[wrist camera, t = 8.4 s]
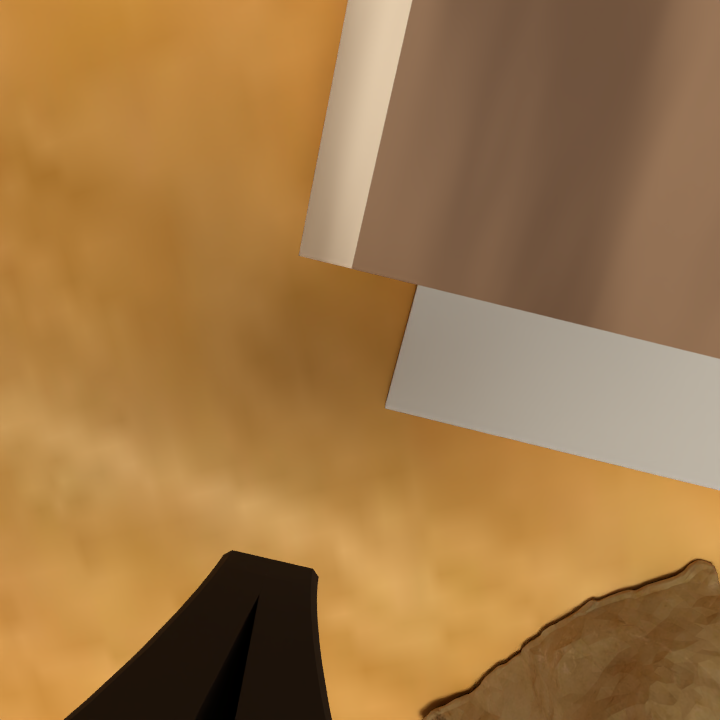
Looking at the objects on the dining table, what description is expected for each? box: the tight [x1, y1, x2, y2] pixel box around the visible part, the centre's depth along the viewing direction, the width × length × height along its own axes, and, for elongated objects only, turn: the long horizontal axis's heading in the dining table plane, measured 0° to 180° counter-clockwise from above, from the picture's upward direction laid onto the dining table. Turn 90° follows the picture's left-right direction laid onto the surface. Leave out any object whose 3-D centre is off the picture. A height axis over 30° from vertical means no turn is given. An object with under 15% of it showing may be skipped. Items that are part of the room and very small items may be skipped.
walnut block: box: [299, 0, 720, 359], centre depth 13 cm, size 5×6×10 cm
